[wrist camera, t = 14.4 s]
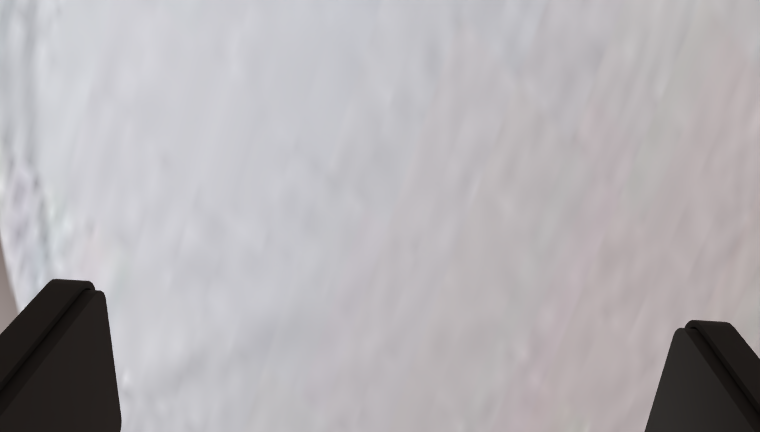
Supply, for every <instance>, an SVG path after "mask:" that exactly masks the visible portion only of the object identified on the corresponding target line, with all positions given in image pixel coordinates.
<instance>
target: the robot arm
mask: <svg viewBox="0 0 760 432" xmlns="http://www.w3.org/2000/svg"><path fill="white" fill-rule="evenodd" d="M120 430H121V411H120V404H119V396H118V389H117V381H116V373H115V366H114V358H113V350H112V343H111V335H110V327H109V320H108V312H107V305H106V298H105V295H104V293H103V292H102V291H97V290H95V287H94V285H93V283H91V282H90V281H80V280H64V279H53V280H51V281H50V282H49V283H48V284H47V285H46V286H45V287H44V288H43V289H42V290H41V291H40V292H39V293H38V294H37V296H36V297H35V298H34V299H33V300H32V301H31V302H30V303H29V304H28V305H27V306H26V307H25V308H24V310H23V311H22V312H21V313H20V314H19V315H18V316H17V317H16V318H15V319H14V320H13V322H12V323H11V324H10V325H9V326H8V327H7V328H6V329H5V330H4V331H3V332H2V333H1V334H0V432H120ZM645 432H760V359H759V358H758V356H757V355H756V354H755V353H754V351H753V350H752V349H751V348H750V346H749V345H748V344H747V343H746V341H745V340H744V339H743V338H742V337H741V335H740V334H739V333H738V332H737V330H736V329H735V328H734V327H733V326H732V325H731V324H730V323H727V322H717V321H701V320H691V321H689V322H688V323H687V324H686V326H685V328H679V329H677V330H676V332H675V333H674V336H673V339H672V342H671V346H670V349H669V352H668V356H667V359H666V362H665V366H664V369H663V372H662V376H661V379H660V382H659V386H658V389H657V392H656V396H655V399H654V402H653V406H652V409H651V412H650V416H649V419H648V422H647V426H646V429H645Z"/></svg>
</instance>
